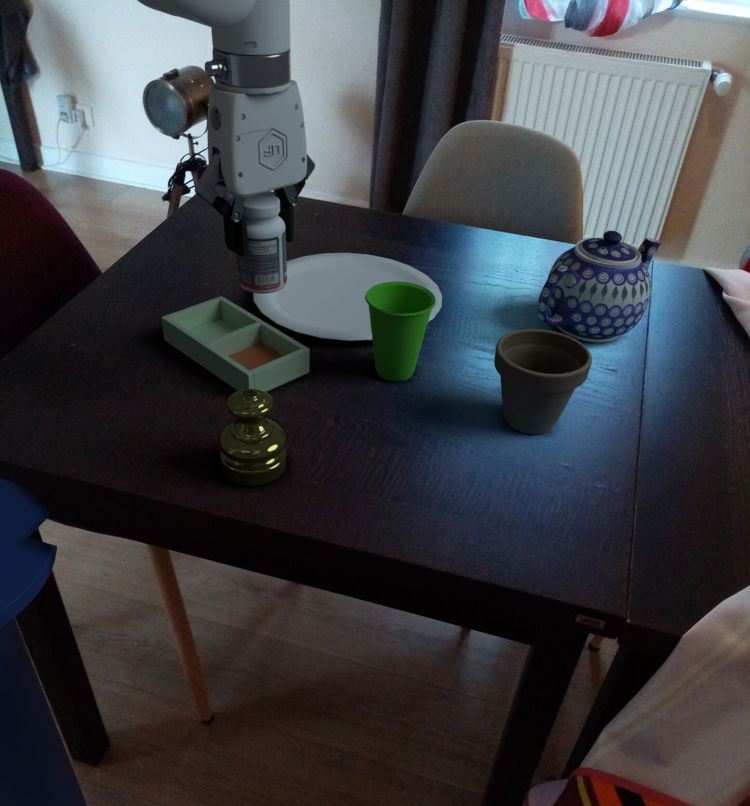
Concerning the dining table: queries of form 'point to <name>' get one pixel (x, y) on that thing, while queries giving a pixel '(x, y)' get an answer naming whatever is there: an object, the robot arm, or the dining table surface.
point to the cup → (398, 326)
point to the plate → (336, 294)
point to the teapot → (598, 288)
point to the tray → (236, 345)
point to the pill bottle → (263, 246)
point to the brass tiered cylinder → (252, 440)
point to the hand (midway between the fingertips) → (260, 243)
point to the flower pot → (539, 376)
